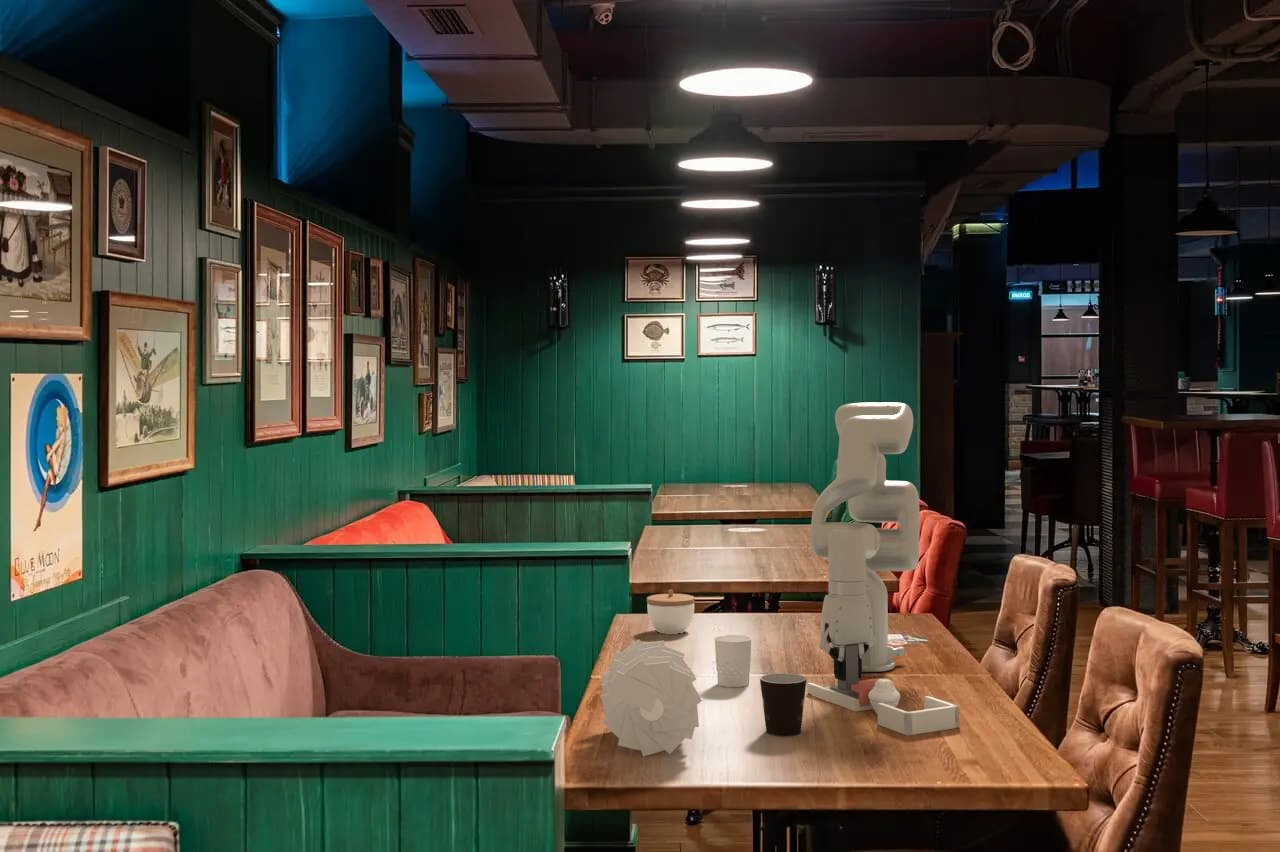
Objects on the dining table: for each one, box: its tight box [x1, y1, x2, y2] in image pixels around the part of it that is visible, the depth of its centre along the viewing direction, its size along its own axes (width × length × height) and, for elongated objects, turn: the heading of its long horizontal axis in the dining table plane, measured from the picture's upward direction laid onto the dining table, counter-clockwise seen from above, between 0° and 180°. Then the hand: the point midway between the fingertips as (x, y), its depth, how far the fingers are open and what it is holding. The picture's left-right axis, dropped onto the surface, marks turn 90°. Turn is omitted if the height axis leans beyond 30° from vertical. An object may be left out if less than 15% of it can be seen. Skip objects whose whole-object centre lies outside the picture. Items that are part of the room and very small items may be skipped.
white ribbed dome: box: [868, 677, 901, 715], centre depth 251 cm, size 6×6×7 cm
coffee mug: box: [759, 672, 808, 737], centre depth 240 cm, size 12×9×10 cm
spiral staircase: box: [600, 638, 703, 757], centre depth 233 cm, size 18×18×25 cm
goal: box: [877, 695, 960, 736], centre depth 242 cm, size 12×9×4 cm
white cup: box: [714, 634, 752, 688], centre depth 278 cm, size 8×8×10 cm
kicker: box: [829, 644, 883, 705], centre depth 260 cm, size 5×12×10 cm, turn 26°
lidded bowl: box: [646, 589, 696, 635], centre depth 339 cm, size 13×13×11 cm
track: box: [806, 678, 874, 713], centre depth 263 cm, size 8×17×2 cm, turn 26°
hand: (847, 677), depth 262 cm, fingers closed on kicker, 3 cm apart
